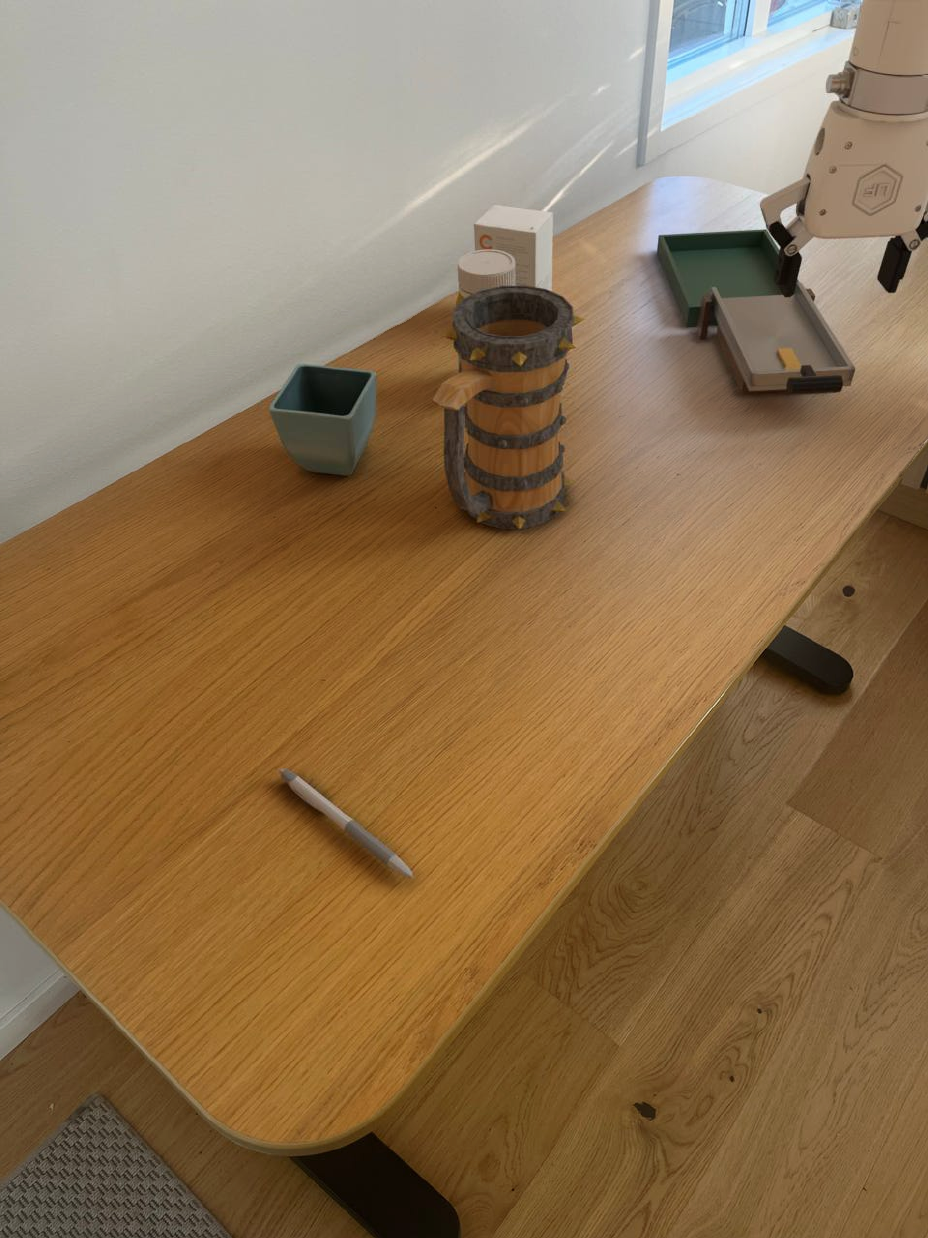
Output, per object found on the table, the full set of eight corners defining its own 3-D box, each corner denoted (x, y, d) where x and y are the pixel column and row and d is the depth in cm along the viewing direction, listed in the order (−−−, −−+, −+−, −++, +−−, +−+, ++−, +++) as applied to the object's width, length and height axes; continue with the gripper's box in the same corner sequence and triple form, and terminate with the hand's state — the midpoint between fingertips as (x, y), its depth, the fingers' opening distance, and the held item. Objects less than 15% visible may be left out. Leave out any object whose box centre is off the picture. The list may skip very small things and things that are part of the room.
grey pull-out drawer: (863, 407, 96) (873, 379, 93) (758, 413, 96) (765, 384, 93) (797, 298, 112) (804, 271, 110) (708, 303, 112) (712, 276, 110)
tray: (806, 320, 115) (811, 300, 113) (686, 327, 116) (689, 306, 114) (762, 247, 130) (766, 228, 128) (656, 253, 130) (658, 234, 128)
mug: (600, 485, 94) (615, 301, 79) (505, 581, 85) (503, 393, 70) (497, 444, 99) (494, 266, 85) (398, 530, 90) (375, 347, 76)
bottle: (508, 405, 105) (508, 279, 94) (451, 396, 106) (444, 272, 96) (525, 374, 109) (527, 251, 98) (470, 366, 111) (465, 244, 100)
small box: (551, 312, 120) (554, 211, 110) (534, 335, 116) (536, 232, 106) (494, 302, 122) (493, 202, 113) (476, 324, 118) (472, 223, 109)
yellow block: (809, 378, 99) (810, 375, 98) (787, 379, 99) (788, 376, 98) (794, 350, 103) (795, 347, 102) (772, 351, 103) (773, 348, 103)
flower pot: (361, 491, 95) (350, 417, 88) (282, 481, 96) (266, 408, 90) (386, 442, 101) (377, 370, 94) (311, 434, 102) (297, 362, 96)
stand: (838, 388, 104) (849, 349, 101) (722, 394, 105) (730, 355, 101) (801, 326, 115) (810, 288, 111) (696, 331, 115) (702, 293, 111)
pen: (287, 772, 71) (284, 761, 70) (418, 878, 64) (417, 868, 63) (277, 781, 70) (274, 770, 69) (408, 889, 63) (407, 879, 62)
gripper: (798, 107, 72) (754, 311, 84) (1017, 98, 72) (941, 303, 84) (772, 78, 77) (734, 274, 89) (976, 69, 77) (910, 267, 89)
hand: (834, 288), depth 87 cm, fingers open, 9 cm apart
